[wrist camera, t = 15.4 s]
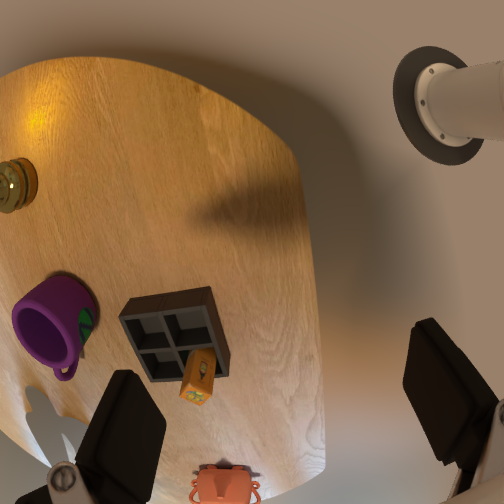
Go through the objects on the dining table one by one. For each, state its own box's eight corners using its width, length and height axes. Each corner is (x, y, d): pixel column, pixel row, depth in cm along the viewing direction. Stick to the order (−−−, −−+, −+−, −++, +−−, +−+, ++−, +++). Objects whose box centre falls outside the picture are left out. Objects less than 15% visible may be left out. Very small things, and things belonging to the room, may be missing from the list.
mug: (39, 264, 37) (2, 293, 28) (97, 275, 38) (63, 311, 29) (58, 349, 44) (33, 384, 34) (110, 364, 44) (90, 405, 35)
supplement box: (188, 346, 41) (176, 396, 32) (200, 332, 40) (189, 382, 31) (207, 357, 42) (199, 407, 33) (220, 343, 41) (214, 394, 32)
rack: (210, 286, 39) (205, 304, 34) (230, 354, 43) (228, 376, 39) (129, 298, 39) (117, 316, 35) (157, 362, 44) (150, 382, 39)
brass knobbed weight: (4, 164, 31) (-40, 175, 22) (35, 152, 31) (-13, 161, 22) (11, 209, 34) (-31, 229, 25) (42, 202, 34) (-3, 222, 25)
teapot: (222, 453, 54) (219, 500, 42) (270, 473, 59) (273, 514, 47) (182, 468, 58) (176, 508, 46) (229, 487, 62) (228, 524, 50)
